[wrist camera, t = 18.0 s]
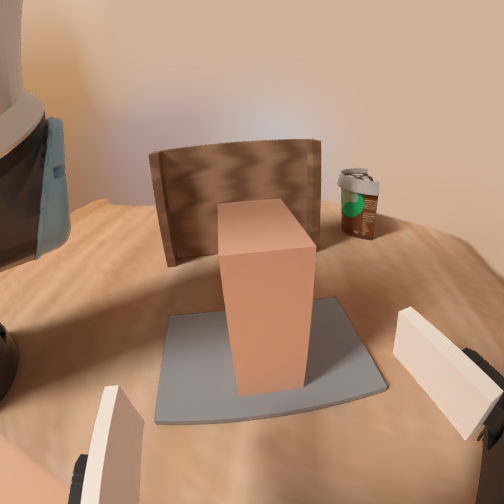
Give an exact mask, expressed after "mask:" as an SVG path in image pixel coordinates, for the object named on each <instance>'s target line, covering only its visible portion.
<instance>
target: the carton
mask: <svg viewBox="0 0 504 504" xmlns="http://www.w3.org/2000/svg"><path fill="white" fill-rule="evenodd" d="M218 255H219V264H220V272H221V280H222V288H223V295H224V303H225V310H226V317H227V324H228V331H229V338H230V345H231V352H232V358H233V365H234V371H235V377H236V384H237V390H238V396H239V397H240V396H249V395H257V394H265V393H272V392H279V391H285V390H291V389H297V388H303V387H304V379H305V371H306V363H307V355H308V345H309V336H310V326H311V315H312V303H313V290H314V276H315V259H316V245H315V244H314V242H313V241H312V240H311V238H310V237H309V236H308V234H307V233H306V232H305V230H304V229H303V228H302V226H301V225H300V224H299V222H298V221H297V220H296V218H295V217H294V216H293V214H292V213H291V212H290V210H289V209H288V208H287V206H286V205H285V204H284V202H283V201H282V200H281V199H267V200H254V201H243V202H232V203H221V204H218Z"/></svg>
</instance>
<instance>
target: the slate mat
mask: <svg viewBox="0 0 504 504" xmlns="http://www.w3.org/2000/svg"><path fill="white" fill-rule="evenodd" d="M386 389H387V385H386V383H385V381H384V379H383V378H382V376H381V374H380V372H379V370H378V369H377V367H376V365H375V363H374V361H373V360H372V358H371V356H370V354H369V353H368V351H367V349H366V347H365V346H364V344H363V342H362V340H361V339H360V337H359V335H358V333H357V332H356V330H355V328H354V327H353V325H352V323H351V322H350V320H349V318H348V316H347V315H346V313H345V311H344V310H343V308H342V306H341V305H340V303H339V301H338V300H337V298H336V297H329V298H322V299H315V300H313V303H312V315H311V326H310V336H309V345H308V355H307V363H306V371H305V379H304V387H303V388H297V389H291V390H285V391H279V392H272V393H265V394H257V395H249V396H240V397H239V396H238V390H237V384H236V377H235V371H234V365H233V358H232V352H231V345H230V338H229V331H228V324H227V317H226V311H215V312H204V313H193V314H180V315H170V317H169V322H168V328H167V334H166V340H165V346H164V352H163V358H162V365H161V371H160V378H159V386H158V393H157V401H156V410H155V418H154V421H155V423H156V424H157V425H195V424H215V423H229V422H240V421H249V420H258V419H265V418H272V417H279V416H285V415H291V414H297V413H302V412H307V411H312V410H317V409H321V408H326V407H330V406H334V405H338V404H342V403H346V402H350V401H354V400H357V399H361V398H364V397H368V396H371V395H374V394H378V393H381V392H384V391H386Z"/></svg>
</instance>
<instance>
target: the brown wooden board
mask: <svg viewBox="0 0 504 504" xmlns="http://www.w3.org/2000/svg"><path fill="white" fill-rule="evenodd" d="M149 161H150V169H151V175H152V183H153V189H154V196H155V202H156V208H157V214H158V220H159V225H160V231H161V236H162V241H163V246H164V251H165V256H166V261H167V266H168V267H172V266H176V263H177V259H178V258H183V257H193V256H203V255H213V254H218V204H221V203H232V202H243V201H254V200H267V199H281V200H282V201H283V202H284V204H285V205H286V206H287V208H288V209H289V210H290V212H291V213H292V214H293V216H294V217H295V218H296V220H297V221H298V222H299V224H300V225H301V226H302V228H303V229H304V230H305V232H306V233H307V234H308V236H309V237H310V238H311V240H312V241H313V242H314V244H315V245H316V252H319V234H320V207H321V141H318V140H314V139H286V140H261V141H243V142H231V143H219V144H209V145H199V146H192V147H183V148H176V149H169V150H162V151H155V152H153V153H151V154H149Z"/></svg>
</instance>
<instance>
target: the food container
mask: <svg viewBox="0 0 504 504" xmlns="http://www.w3.org/2000/svg"><path fill="white" fill-rule="evenodd" d="M367 172H368V169H362V168H354V169H345V170H342V171H341V174H340V175H339V179H338V182H337V184H338V186H340V187H341V204H342V229H343V231H344V232H346V233H347V234H349V235H351V236H354V237H357V238H361V239H367V240H372V239H373V232H374V225H375V218H376V210H377V201H378V196H379V182H374V181H373V179H372V177H369V176H368V174H367Z"/></svg>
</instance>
